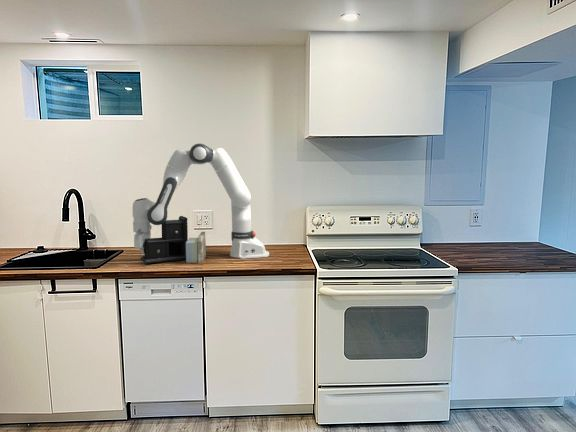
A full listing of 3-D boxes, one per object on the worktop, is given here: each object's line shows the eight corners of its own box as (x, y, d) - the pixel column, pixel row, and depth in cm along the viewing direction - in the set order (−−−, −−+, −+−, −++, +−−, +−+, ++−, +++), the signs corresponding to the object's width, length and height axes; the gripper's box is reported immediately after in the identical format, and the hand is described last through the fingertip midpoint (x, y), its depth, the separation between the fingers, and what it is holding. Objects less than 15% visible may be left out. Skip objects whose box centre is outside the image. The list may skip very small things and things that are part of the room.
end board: (206, 255, 236) (205, 231, 234) (202, 263, 218) (201, 237, 216) (202, 255, 236) (201, 231, 234) (198, 263, 218) (197, 237, 216)
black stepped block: (144, 264, 214) (144, 219, 211) (140, 259, 223) (139, 217, 220) (188, 259, 226) (188, 217, 223) (182, 256, 235) (182, 215, 232)
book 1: (195, 256, 233) (194, 237, 232) (191, 262, 220) (191, 242, 218) (189, 256, 233) (189, 237, 232) (186, 262, 219) (185, 242, 218)
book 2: (200, 256, 234) (200, 237, 232) (197, 262, 220) (197, 242, 218) (195, 256, 233) (194, 237, 232) (191, 262, 220) (191, 242, 218)
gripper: (142, 231, 212) (144, 257, 213) (152, 225, 232) (153, 249, 234) (130, 231, 211) (131, 257, 213) (140, 225, 231) (141, 249, 233)
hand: (142, 253), depth 223 cm, fingers closed
